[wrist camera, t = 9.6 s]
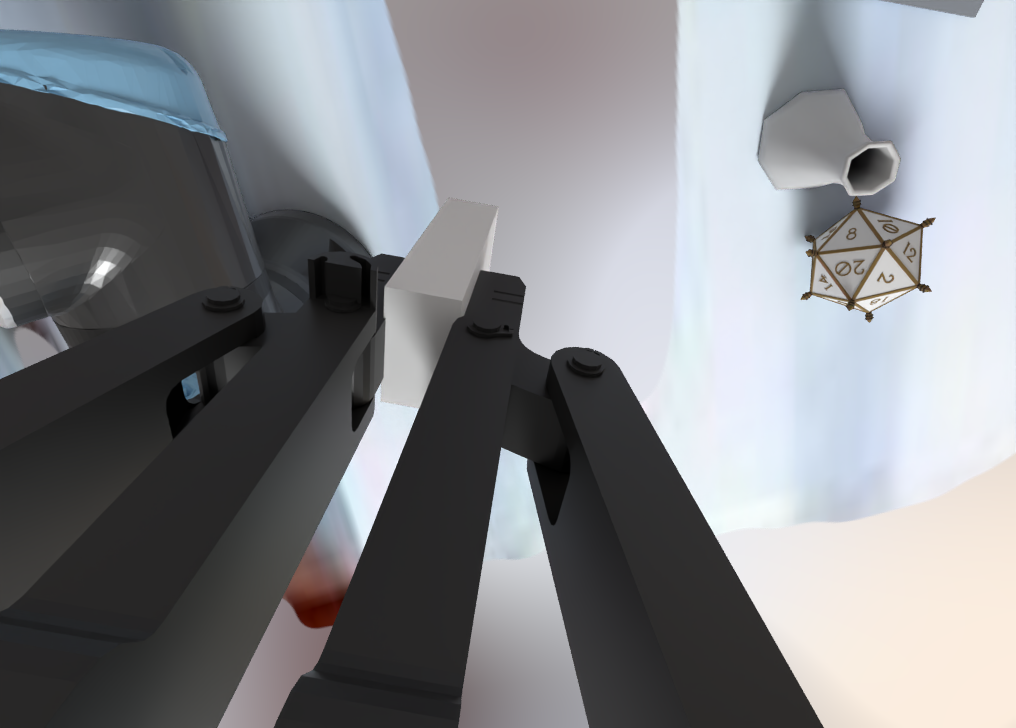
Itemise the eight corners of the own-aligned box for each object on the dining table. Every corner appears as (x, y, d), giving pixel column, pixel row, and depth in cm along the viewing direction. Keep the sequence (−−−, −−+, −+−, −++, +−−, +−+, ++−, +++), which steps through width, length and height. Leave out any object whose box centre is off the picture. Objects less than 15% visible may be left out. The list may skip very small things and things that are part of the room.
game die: (808, 251, 48) (779, 336, 44) (817, 170, 42) (783, 261, 38) (932, 262, 43) (911, 358, 39) (963, 173, 37) (942, 277, 33)
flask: (863, 169, 41) (942, 204, 32) (764, 204, 43) (813, 245, 34) (855, 69, 38) (939, 79, 29) (747, 112, 40) (797, 133, 31)
